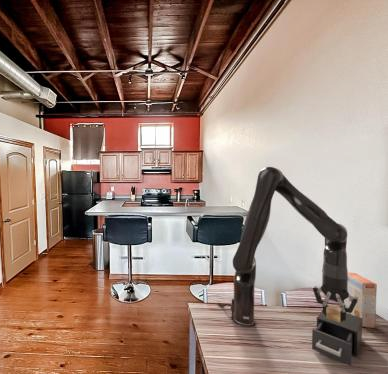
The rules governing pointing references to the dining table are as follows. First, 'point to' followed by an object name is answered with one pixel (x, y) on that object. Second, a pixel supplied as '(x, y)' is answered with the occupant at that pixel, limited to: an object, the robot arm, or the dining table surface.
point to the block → (333, 313)
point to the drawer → (333, 342)
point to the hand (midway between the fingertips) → (334, 317)
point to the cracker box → (362, 299)
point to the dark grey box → (347, 328)
